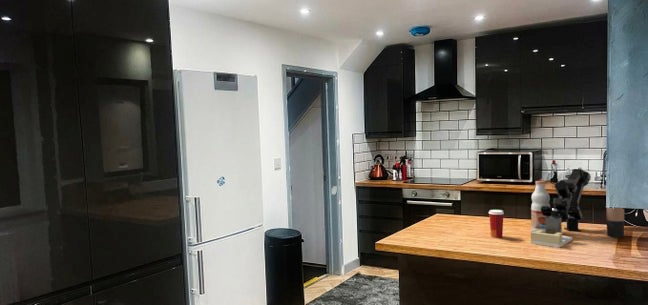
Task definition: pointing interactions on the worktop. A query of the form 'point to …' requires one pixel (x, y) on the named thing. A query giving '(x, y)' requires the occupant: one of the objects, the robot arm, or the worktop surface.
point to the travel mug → (615, 222)
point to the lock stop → (553, 225)
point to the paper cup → (496, 223)
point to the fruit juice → (539, 206)
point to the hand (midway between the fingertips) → (557, 225)
